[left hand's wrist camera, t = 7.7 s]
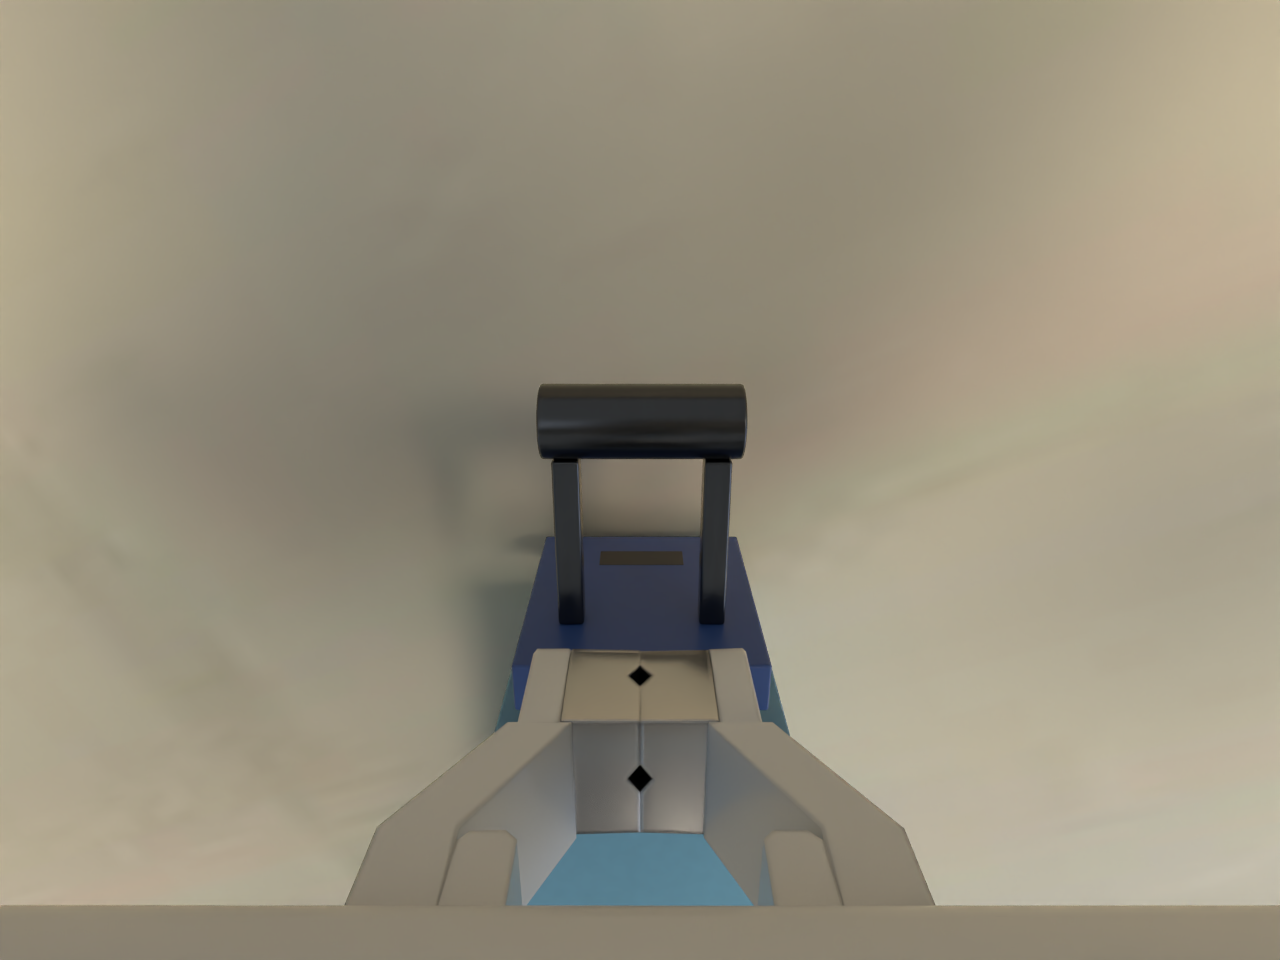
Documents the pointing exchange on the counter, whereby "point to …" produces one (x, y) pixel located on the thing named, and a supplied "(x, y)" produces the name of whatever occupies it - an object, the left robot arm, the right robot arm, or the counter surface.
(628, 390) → the drawer
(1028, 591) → the counter surface
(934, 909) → the left robot arm
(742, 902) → the light-blue storage box
